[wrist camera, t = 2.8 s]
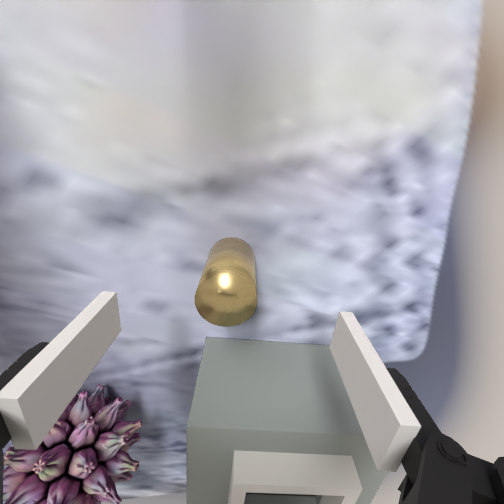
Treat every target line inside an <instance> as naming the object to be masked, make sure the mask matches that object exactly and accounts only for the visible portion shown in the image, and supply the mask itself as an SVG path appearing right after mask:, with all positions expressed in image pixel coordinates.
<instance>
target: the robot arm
mask: <svg viewBox="0 0 504 504" xmlns="http://www.w3.org/2000/svg"><path fill="white" fill-rule="evenodd" d="M120 331H121V326H120V318H119V310H118V301H117V293H116V292H107V291H102V292H101V293H100V294H99V295H98V296H97V297H96V298H95V299H94V300H93V301H92V302H91V303H90V304H89V305H88V306H87V307H86V308H85V309H84V310H83V311H82V312H81V313H80V314H79V315H78V316H77V317H76V318H75V319H74V320H73V321H72V322H71V323H70V324H69V325H67V326H66V327H65V328H64V329H63V330H62V331H61V332H60V333H59V334H58V335H57V336H56V337H55V338H54V339H53V340H52V341H51V342H50V343H46V342H41V343H39V344H38V345H36V346H34V347H33V348H31V349H29V350H28V351H26V352H25V353H24V354H23V355H22V356H21V357H20V358H19V359H18V360H17V362H14V363H13V364H12V365H11V366H10V367H9V368H8V370H6V371H5V372H3V373H2V374H1V375H0V504H3V472H4V454H3V451H2V449H3V448H4V447H5V445H6V444H7V443H8V442H9V441H10V439H11V441H12V443H13V445H14V448H15V449H26V450H37V448H38V447H39V445H40V444H41V443H42V441H43V440H44V438H45V437H46V435H47V434H48V433H49V431H50V430H51V428H52V427H53V426H54V424H55V423H56V421H57V420H58V419H59V417H60V416H61V414H62V413H63V412H64V410H65V409H66V407H67V406H68V405H69V403H70V402H71V400H72V399H73V397H74V396H75V395H76V393H77V392H78V390H79V389H80V388H81V386H82V385H83V383H84V382H85V381H86V379H87V378H88V376H89V375H90V374H91V372H92V371H93V369H94V368H95V366H96V365H97V364H98V362H99V361H100V359H101V358H102V357H103V355H104V354H105V352H106V351H107V350H108V348H109V347H110V345H111V344H112V343H113V341H114V340H115V338H116V337H117V336H118V334H119V333H120ZM330 350H331V352H332V355H333V357H334V360H335V362H336V365H337V368H338V370H339V373H340V375H341V378H342V380H343V383H344V386H345V388H346V391H347V393H348V396H349V398H350V401H351V404H352V406H353V409H354V411H355V414H356V416H357V419H358V422H359V424H360V427H361V429H362V432H363V435H364V437H365V440H366V442H367V445H368V447H369V450H370V453H371V455H372V458H373V460H374V463H375V465H376V468H377V470H378V471H397V469H398V468H399V466H400V464H401V463H402V465H403V467H404V469H405V471H406V473H407V474H406V476H405V478H404V480H403V481H402V483H401V485H400V486H399V488H398V490H399V491H401V495H400V500H399V504H504V457H499V458H498V459H497V460H496V461H495V462H494V464H493V463H490V462H488V461H485V460H482V459H480V458H477V457H474V456H472V455H469V454H467V453H466V451H465V450H464V449H463V448H462V447H461V446H460V445H459V444H458V443H457V442H456V441H454V440H453V439H452V438H450V437H448V436H446V435H444V434H442V433H441V432H440V430H439V428H438V427H437V425H436V424H435V422H434V421H433V419H432V418H431V416H430V415H429V413H428V412H427V410H426V409H425V407H424V406H423V404H422V403H421V401H420V400H419V399H418V398H417V395H416V394H415V392H414V391H413V390H412V388H411V386H410V385H409V383H408V382H407V380H406V379H405V377H404V376H402V375H401V374H400V373H399V372H398V371H397V370H396V369H394V368H385V366H384V364H383V362H382V361H381V359H380V357H379V356H378V354H377V352H376V351H375V349H374V348H373V346H372V344H371V343H370V341H369V339H368V338H367V336H366V334H365V333H364V331H363V329H362V328H361V326H360V324H359V323H358V321H357V320H356V318H355V316H354V315H353V313H352V312H339V316H338V319H337V323H336V326H335V330H334V333H333V337H332V340H331V344H330Z"/></svg>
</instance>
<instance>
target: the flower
mask: <svg viewBox="0 0 504 504" xmlns="http://www.w3.org/2000/svg"><path fill="white" fill-rule="evenodd" d="M104 389H105V386H101V385H100V384H98V385H97V387H96V389H95V391H94V393H93V394H92V395H91V396H90V397H89V398H88V397H87V394H88V393H87V391H86V392H84V391H83V392H81V393H80V395H79V399H78V395H75V396H74V397H73V399H72V400H71V402H70V403H69V405H68V406H67V407H66V409H65V410H64V412H63V413H62V414H61V416H60V417H59V419H58V420H57V421H56V423H55V424H54V426H53V427H52V428H51V430H50V431H49V433H48V434H47V435H46V437H45V438H44V440H43V441H42V443H41V444H40V445H39V447H38V448H37V450H26V449H15V448H14V447H9V449H8V450H7V451H6V454H5V456H4V465H8V467H7V468H6V469H5V470H4V472H3V501H4V500H7V501H6V502H5V503H4V504H101V501H103V502H110V503H113V504H119V503H120V501H122V500H121V498H120V497H119V496H118V494H117V491H116V487H115V483H116V482H118V481H129V480H130V479H131V478H132V475H131V474H130V473H129V472H127V471H136V470H137V469H138V467H139V464H138V463H139V462H138V461H135V460H133V459H131V457H130V456H129V455H128V453H127V452H126V451H127V450H128V449H129V448H130V447H131V446H132V445H133V444H134V443H136V442H138V441H140V438H141V437H140V433H134V432H135V431H136V430H137V429H138V428H140V427H141V426H142V424H141V422H142V421H141V419H140V420H137V421H134V422H132V421H123V420H124V418H125V415H126V412H127V410H128V409H129V407H130V406H131V405H132V403H131V402H130V401H129V400H127V401H126V402H124V403H123V399H121V397H120V398H119V397H117V398H116V399H115V401H114V402H112V403H110V404H109V402H110V400H109V398H105V399H104V395H103V393H104ZM122 403H123V404H122Z"/></svg>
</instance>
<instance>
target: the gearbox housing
mask: <svg viewBox="0 0 504 504" xmlns="http://www.w3.org/2000/svg"><path fill="white" fill-rule="evenodd" d="M387 473H388V471H378V470H377V468H376V465H375V463H374V460H373V458H372V455H371V453H370V450H369V447H368V445H367V442H366V440H365V437H364V435H363V432H362V429H361V427H360V424H359V422H358V419H357V416H356V414H355V411H354V409H353V406H352V404H351V401H350V398H349V396H348V393H347V391H346V388H345V386H344V383H343V380H342V378H341V375H340V373H339V370H338V368H337V365H336V362H335V360H334V357H333V355H332V352H331V350H330V346H328V345H314V344H300V343H286V342H271V341H257V340H243V339H229V338H214V337H206V340H205V344H204V349H203V354H202V358H201V363H200V367H199V372H198V377H197V381H196V386H195V390H194V395H193V400H192V404H191V409H190V413H189V418H188V423H187V504H370V503H371V501H372V499H373V498H374V496H375V494H376V492H377V490H378V489H379V487H380V485H381V484H382V482H383V480H384V478H385V477H386V475H387Z"/></svg>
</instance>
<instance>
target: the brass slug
mask: <svg viewBox="0 0 504 504" xmlns="http://www.w3.org/2000/svg"><path fill="white" fill-rule="evenodd" d="M195 305H196V308H197V310H198V312H199V314H200V315H201V316H202V317H203V318H204V319H205V320H207V321H208V322H210V323H212V324H215V325H218V326H224V327H229V326H236V325H239V324H241V323H243V322H245V321H247V320H248V319H249V318H250V317H251V316H252V315H253V313H254V311H255V309H256V306H257V292H256V274H255V257H254V252H253V250H252V248H251V247H250V246H249V245H248V244H247V243H246V242H245V241H243V240H241V239H238V238H225V239H222V240H220V241H218V242H217V243H216V244H215V245H214V246H213V247H212V249H211V251H210V254H209V256H208V259H207V262H206V265H205V268H204V271H203V274H202V277H201V279H200V282H199V285H198V288H197V291H196V294H195Z"/></svg>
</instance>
